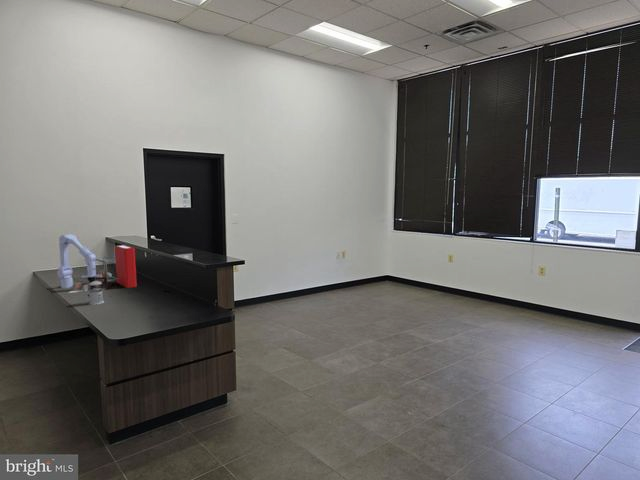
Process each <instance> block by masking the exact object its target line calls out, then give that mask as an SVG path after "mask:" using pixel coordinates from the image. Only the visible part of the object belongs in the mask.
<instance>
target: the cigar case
mask: <svg viewBox="0 0 640 480" xmlns="http://www.w3.org/2000/svg"><path fill="white" fill-rule="evenodd" d="M101 270H102V269H99V270H98V269H96V274H99V275H102V277H97V278H96V281H99V282H101V283H102V284H107V282H108V281H107V280H106V270H105V269H104V268H103V270H102V271H101ZM103 271H104V274H103ZM101 272H102V274H101Z"/></svg>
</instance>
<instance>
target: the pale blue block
mask: <svg viewBox="0 0 640 480" xmlns="http://www.w3.org/2000/svg"><path fill="white" fill-rule="evenodd" d="M82 288H83V290H70V291H68V292H67V293H68V294H69V293H70V294H71V293H75V294H76V293H86V292H87V291H89V290H88V285H87V284H84V285H82Z"/></svg>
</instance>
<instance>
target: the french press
mask: <svg viewBox="0 0 640 480" xmlns="http://www.w3.org/2000/svg"><path fill="white" fill-rule="evenodd" d="M93 269H96V270H97V268H93ZM94 274H95V270H94ZM88 283H89V285H94V287H92V288H91V289H89V299H90V300H89V301H90V302H88V305H89V306H90V305H91V306H94V305H95V306H96V304H97V305H101V303H102V304H103V303H105V301H104V296H103V290H102V288H101V286H100V285H102V284H103V283H101V282H99V281H93V282H91V283H90V282H88Z"/></svg>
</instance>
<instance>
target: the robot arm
mask: <svg viewBox="0 0 640 480" xmlns="http://www.w3.org/2000/svg"><path fill="white" fill-rule="evenodd" d="M58 238H59V243H58V245H59V246H58V247H59V258H60V259H59V260H60V261H59V262H60V266H59V267H58V269H57V272H56V273H57V277H58V278H59V280H60V288H61V289H68V288H72V286H74V279H73V277H72V276H73V274H74V271H73V268H72V266H70V263H69V252H68V250H69V248H68V246H69V245H70V244H71V245H72V246H74V247H75V248H77V250H78V252H79V253H80V255H82V256H83V258H84V261H85V264H86V267H87V271H86V272H87V274H82V275H81V279H85V278H86V279H87V281H88V283H91V282H93V281H96V278H97V277H102V275H99V274H97V268H96V261H97V260H96V259H97V258H98V257H97V255H96V254H95V253H93V252H91V251H90V250H89V249H88V247H85V246H83V245H82V244H81V242H80V241H79V240H78V239H77V238H78V237H77V236H76V235H75V234H74V233H69V234H61V235H60V236H59V237H58ZM93 268H96V269H93ZM94 270H95V274H94ZM91 287H92V288H95V285H91Z"/></svg>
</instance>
